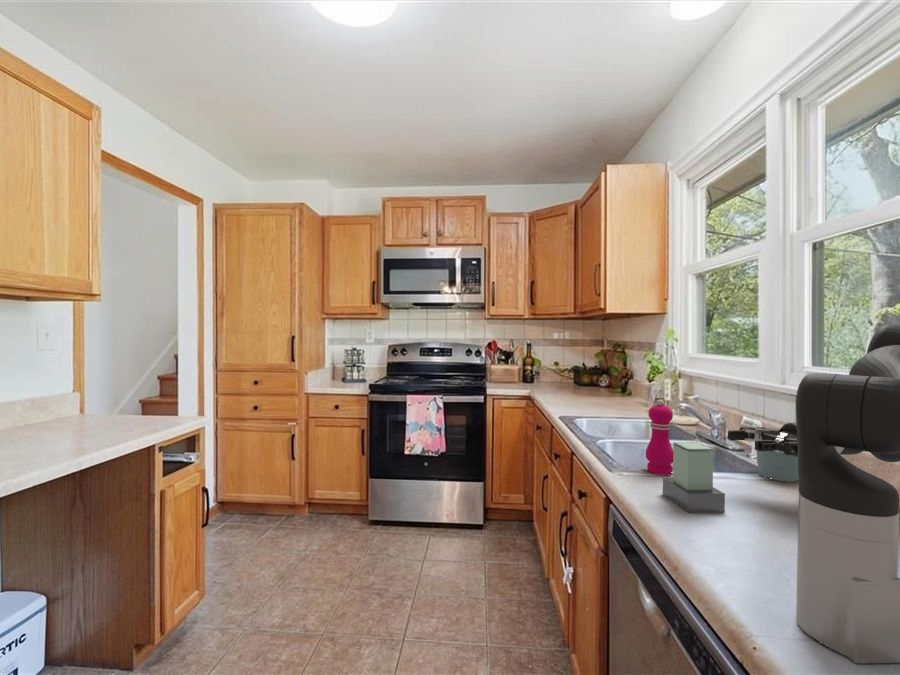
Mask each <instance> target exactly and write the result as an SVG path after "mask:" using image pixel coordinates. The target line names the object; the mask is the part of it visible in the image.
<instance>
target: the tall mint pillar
mask: <svg viewBox="0 0 900 675" xmlns="http://www.w3.org/2000/svg"><path fill="white" fill-rule="evenodd" d="M673 451H674V453H673V463H672V465H673V466H672V467H673V473H672V478H673V481H674V482H676V483H677V484H679V485H680V486H682V487H684V488H685V489H687V490H713V487H714V483H713V482H714V480H713V479H714V448H712V447H709V446H707V445H704V444H702V443H700V442H696V441H687V442H686V441H683V442H682V441H681V442H679V441H677V442H673Z"/></svg>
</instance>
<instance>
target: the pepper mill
mask: <svg viewBox="0 0 900 675" xmlns="http://www.w3.org/2000/svg"><path fill="white" fill-rule="evenodd" d="M647 413H648V417H649V419H650V426H649V427H650V428H651V437H650V440H649V443H648V445H647V446H646V449H645V458H646V460H647V461H648V462H647V466H646V468H647V471H648V472H649V473H651V472H652V473H651V474H654V473H655V474H654V475H658V474H659V476H669V475H668V474H671V475H673V473H671V472H673V466H672V465H673V453H674V448H673V447H672V444H671V441H670V436H669V435H670V434H669V432H670V429H671V423H670V422H671V421H672V420H673V418H674V417H673V415H674V414H673V411H672V409H671V408H670V407H668V406H667V405H665V401H664V400H663V399H658V400H657V401H656V405H652V406H651V407H650V408H649V410H648V412H647Z"/></svg>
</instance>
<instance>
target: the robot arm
mask: <svg viewBox="0 0 900 675" xmlns="http://www.w3.org/2000/svg"><path fill="white" fill-rule="evenodd" d="M795 396H796V397H795V398H796V399H795V422H788V423H785V424H783V425H782V426H781V428H779V429H780V430H777V429H778V428H771V429H770V430H767V429H766V428H767V427H764V426H759V427H758V426H757V427H755V426H754V427H753V426H751V427H750V426H749V427H745V426H740V427H739V429H738V430H733V429H732V430H727V439H728V440H729V441H747V442H748V441H749V442H754V449H755V451H756V450H757V451H775V452H778V453H779V452H784V454H786V455H792V456H796V457H798V477H799V479H798V510H797V511H798V514H797V516H798V518H797V556H796V557H797V558H796V560H797V561H796V612H795V614H796V616H795V617H796V622H797V624H798V626H799V627H800V629H801V630H802V631H803V632H804V633H805V632H806V633H805V634H806V635H808V634H809V635H810V636H811V637H810V636H809V635H808V636H809V637H810V638H812V637H813V638H814V639H813V638H812V639H813V640H815V639H816V640H817V641H816V640H815V641H816V642H818V641H819V642H821V643H822V644H821V643H820V644H821V645H823V644H824V645H825V647H826V646H827V647H826V648H828V647H829V648H828V649H830V648H831V649H830V650H832V649H833V650H832V651H834V650H835V651H834V652H836V651H837V653H839V652H840V653H839V654H841V655H843V656H845V657H847V658H849V659H850V660H851V661H852V662H854V663H855V664H890V663H891V664H894V663H895V664H896V663H897V664H898V663H900V578H899V575H898V574H899V538H900V537H899V535H900V534H899V532H900V531H899V530H900V528H899V527H900V494H899V493H898V490H897V488H896V487H895V486H894V485H892V484H891V483H890V482H888V481H886V480H884V479H882V478H880V477H878V476H876V475H874V474H871V473H870V472H868V471H865V470H863V469H862V468H860V467H858V466H856V465H854V464H853V463H851V462H850V461H848V460H847V459H846V458H844V457H843V455H846V456H847V455H849V456H850V455H858V454H861V453H863V452H868V453H870V454H871V455H872V456H873V457H874V458H876V459H877V460H880V461H881V462H886V463H899V462H900V324H897V323H896V324H895V323H887V324H884V325H881V326H880V327H879V328H878V329H877V330H876V331H875V332H874V334H873V336H872V338H871V339H870V341H869V345H868V346H867V351H866V354H864V355H863V356H862V357H860V358H859V359H858V360H857V361H855V363H854V364H853V365H852V366H851V368H850V370H849V373H848V374H839V373H823V372H822V373H821V372H818V373H817V372H815V373H813V372H812V373H809V374H807V375H805V376H804V377H803V378H802V379H801V381H800V383H799V384H798V387H797V391H796V395H795ZM759 438H760V439H762V440H759ZM819 642H818V643H819ZM824 645H823V646H824Z"/></svg>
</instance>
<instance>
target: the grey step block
mask: <svg viewBox="0 0 900 675" xmlns="http://www.w3.org/2000/svg"><path fill="white" fill-rule="evenodd" d="M662 495H663V496H664V497H665V498H667V499H668V500H669V501H671V502H673V503H674V504H675V505H677V506H678V507H679V508H681V509H682V510H683V511H685V512H686V513H687V514H689V513H691V514H692V513H695V514H696V513H725V510H726V509H725V507H726V493H724V492H723V491H720V490H719V489H717V488H715V487H714V486H713V490H687V489H685V488H684V487H682V486H680V485H679V484H677V483H676V482H674V481H673V477H662Z"/></svg>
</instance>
